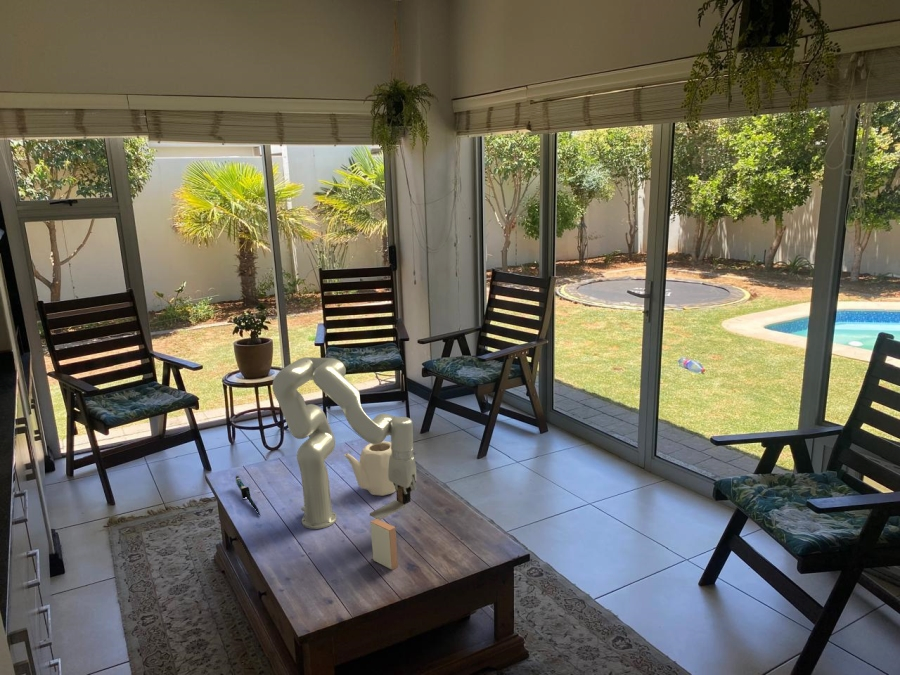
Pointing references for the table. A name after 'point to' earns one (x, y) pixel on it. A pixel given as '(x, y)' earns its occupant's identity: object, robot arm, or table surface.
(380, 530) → the tile
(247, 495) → the knife
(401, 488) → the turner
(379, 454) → the cream teapot
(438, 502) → the table surface
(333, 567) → the table surface
